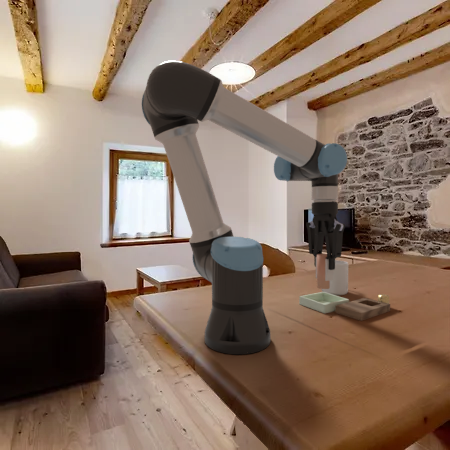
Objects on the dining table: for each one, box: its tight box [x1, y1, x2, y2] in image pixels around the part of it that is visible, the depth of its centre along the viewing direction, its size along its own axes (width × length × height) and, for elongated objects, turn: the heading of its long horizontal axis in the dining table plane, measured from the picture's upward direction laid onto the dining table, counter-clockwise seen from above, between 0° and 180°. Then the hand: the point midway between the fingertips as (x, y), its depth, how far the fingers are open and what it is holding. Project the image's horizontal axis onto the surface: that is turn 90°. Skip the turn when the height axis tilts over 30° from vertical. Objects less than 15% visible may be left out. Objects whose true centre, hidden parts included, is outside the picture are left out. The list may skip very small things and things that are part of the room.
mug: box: [321, 259, 349, 296], centre depth 115 cm, size 12×9×11 cm
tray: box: [298, 291, 350, 315], centre depth 98 cm, size 10×10×3 cm
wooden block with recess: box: [335, 297, 391, 321], centre depth 92 cm, size 14×8×3 cm, turn 124°
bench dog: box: [377, 293, 390, 304], centre depth 96 cm, size 3×3×4 cm
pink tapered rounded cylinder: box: [316, 253, 330, 290], centre depth 97 cm, size 4×4×10 cm
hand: (324, 278), depth 98 cm, fingers closed on pink tapered rounded cylinder, 3 cm apart
